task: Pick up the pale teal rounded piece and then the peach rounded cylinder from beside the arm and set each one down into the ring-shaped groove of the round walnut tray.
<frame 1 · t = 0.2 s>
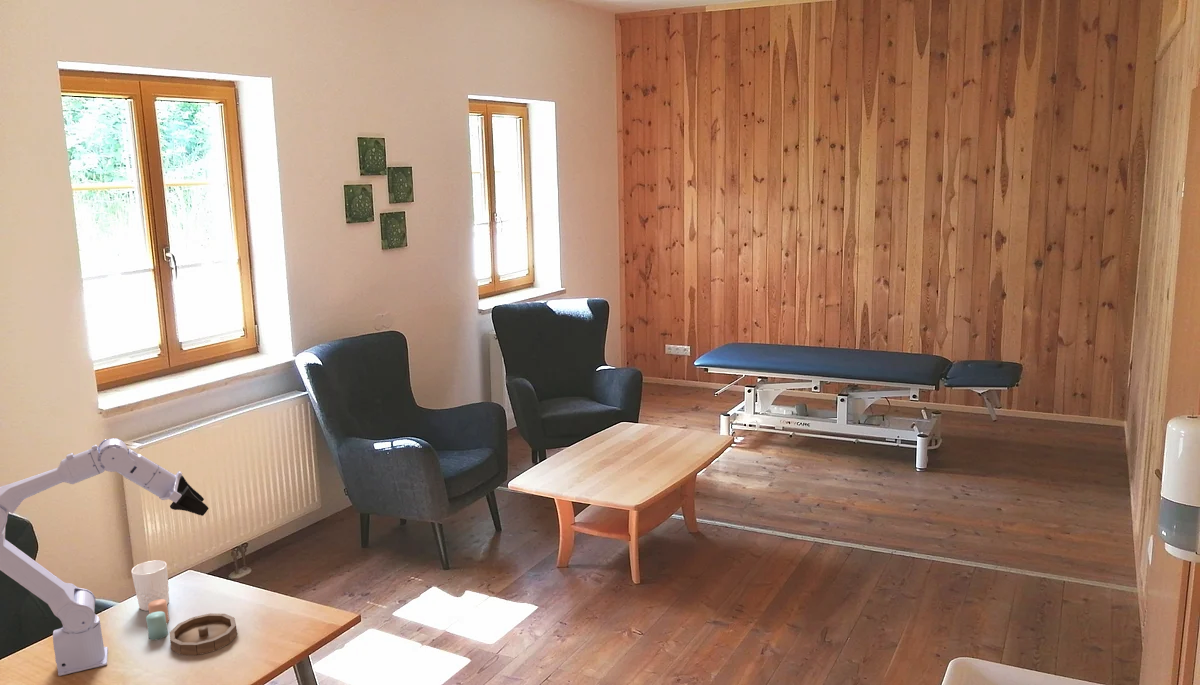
hand: (203, 507, 218), 31 cm above the table, tool tilted 45°, fingers open, 7 cm apart
white cup: (154, 605, 238), on the table
peach rounded cylinder: (160, 622, 229), on the table
tray: (204, 638, 221), on the table
pale teal rounded piece: (158, 635, 223), on the table
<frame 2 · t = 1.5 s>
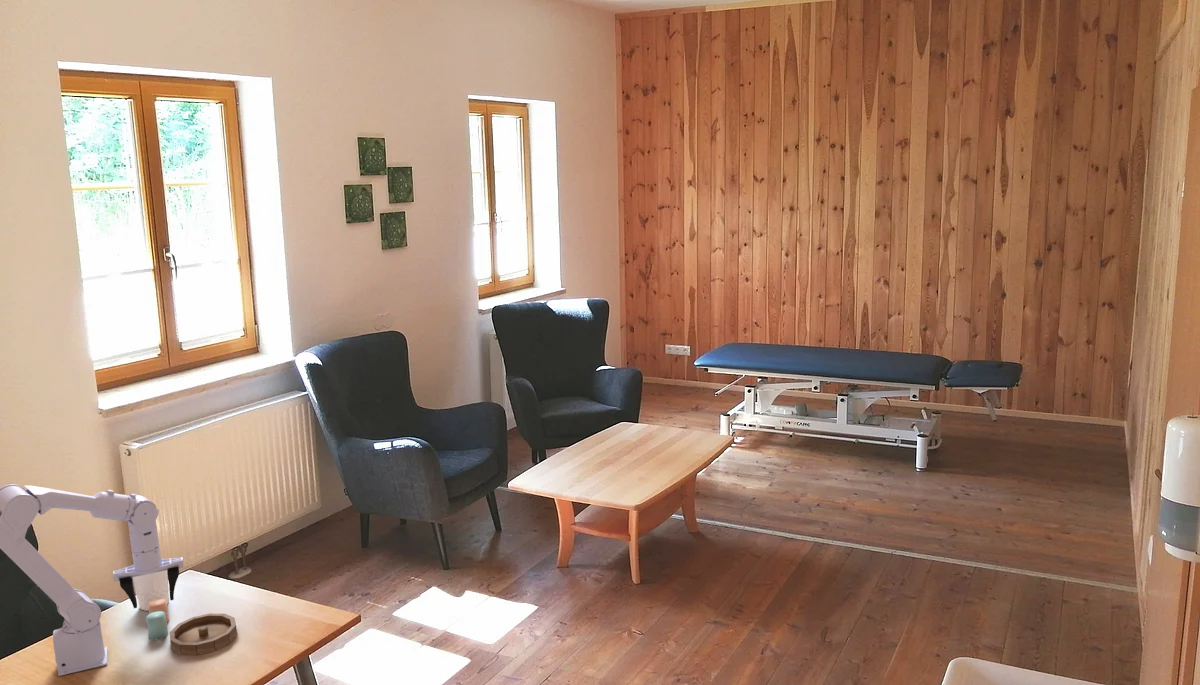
hand: (153, 602, 221), 8 cm above the table, tool pointing down, fingers open, 7 cm apart
nothing on the table moved.
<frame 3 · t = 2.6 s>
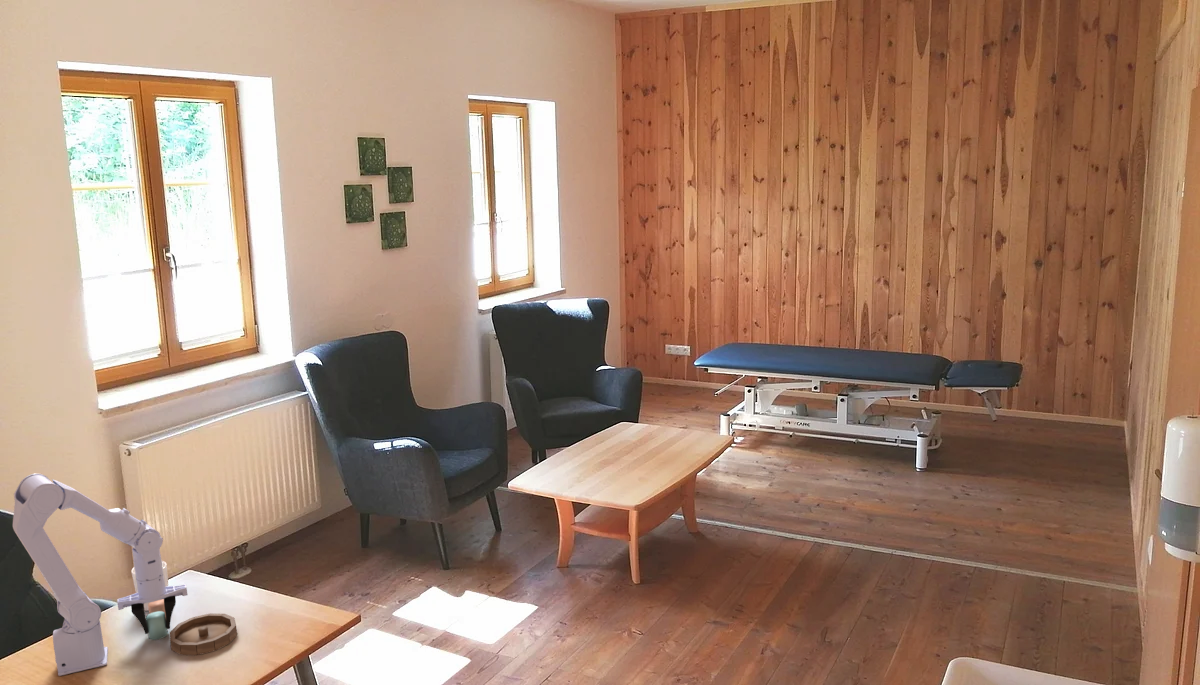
hand: (157, 629, 223), 1 cm above the table, tool pointing down, fingers closed on pale teal rounded piece, 4 cm apart
pale teal rounded piece: (158, 635, 223), on the table, touching gripper
everything else where it was.
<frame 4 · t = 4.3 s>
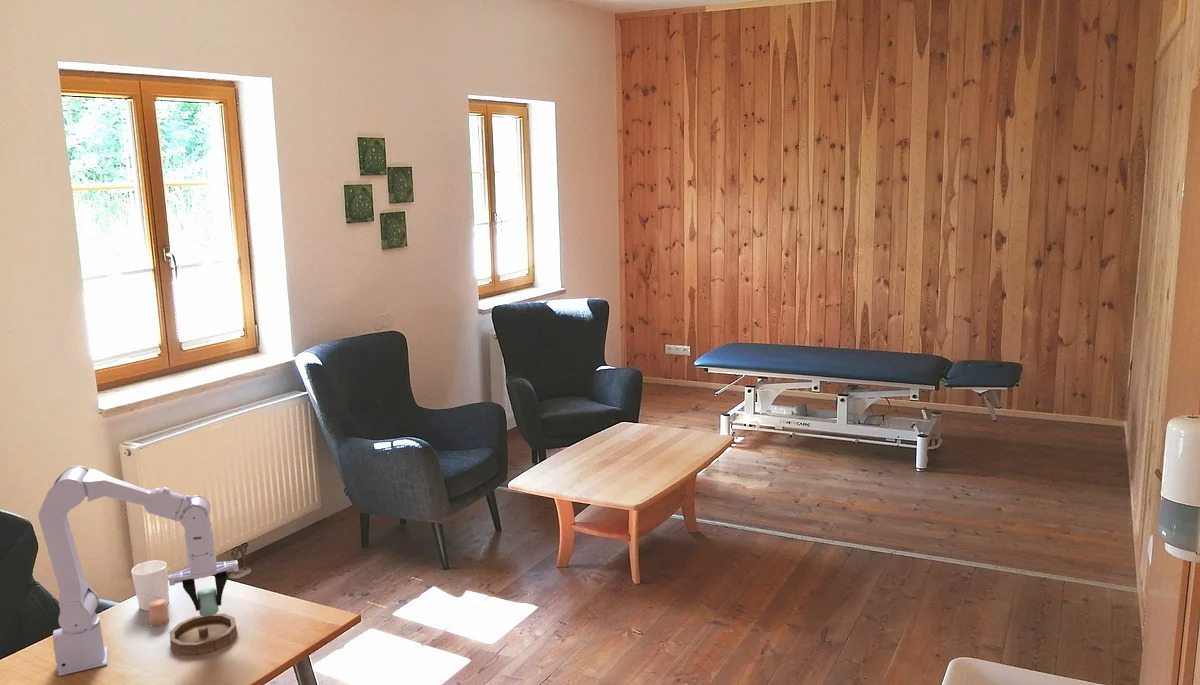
hand: (208, 606, 218), 9 cm above the table, tool pointing down, fingers closed on pale teal rounded piece, 4 cm apart
pale teal rounded piece: (209, 611, 219), point 7 cm above the table, touching gripper
everything else where it was.
when the fingers open (3 cm above the table, at t = 5.9 s): pale teal rounded piece stays where it is, resting on tray.
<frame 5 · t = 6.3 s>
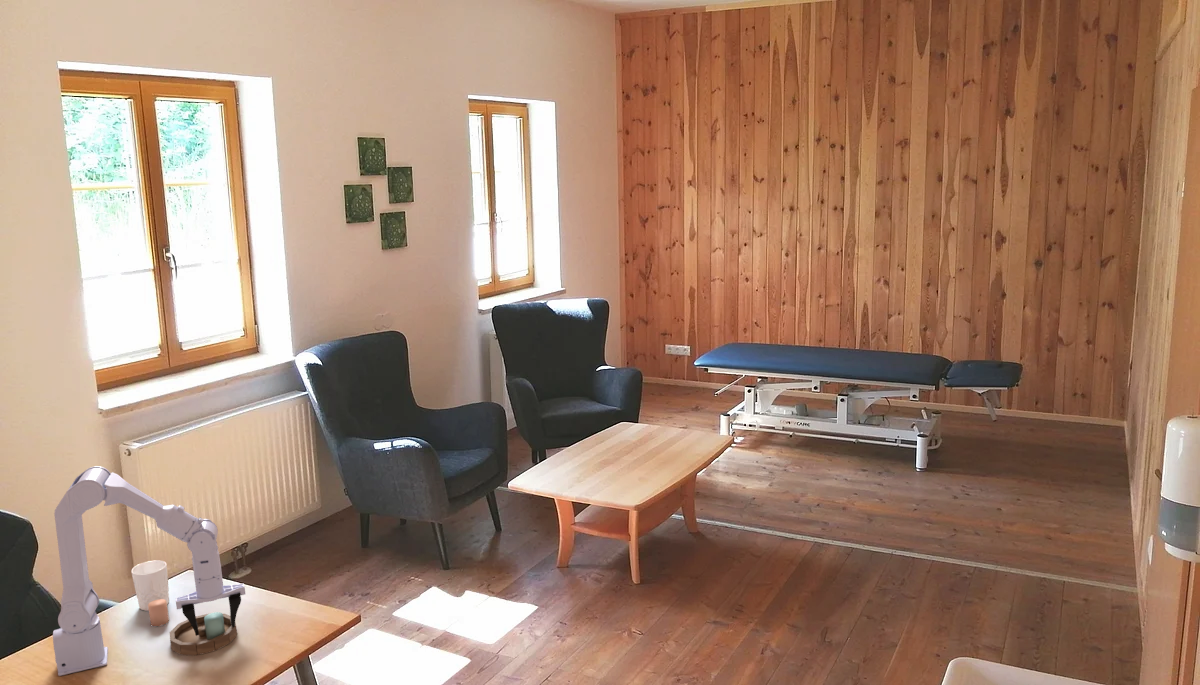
hand: (215, 629, 219), 3 cm above the table, tool pointing down, fingers open, 7 cm apart
pale teal rounded piece: (216, 636, 220), point 1 cm above the table, touching tray
everything else where it was.
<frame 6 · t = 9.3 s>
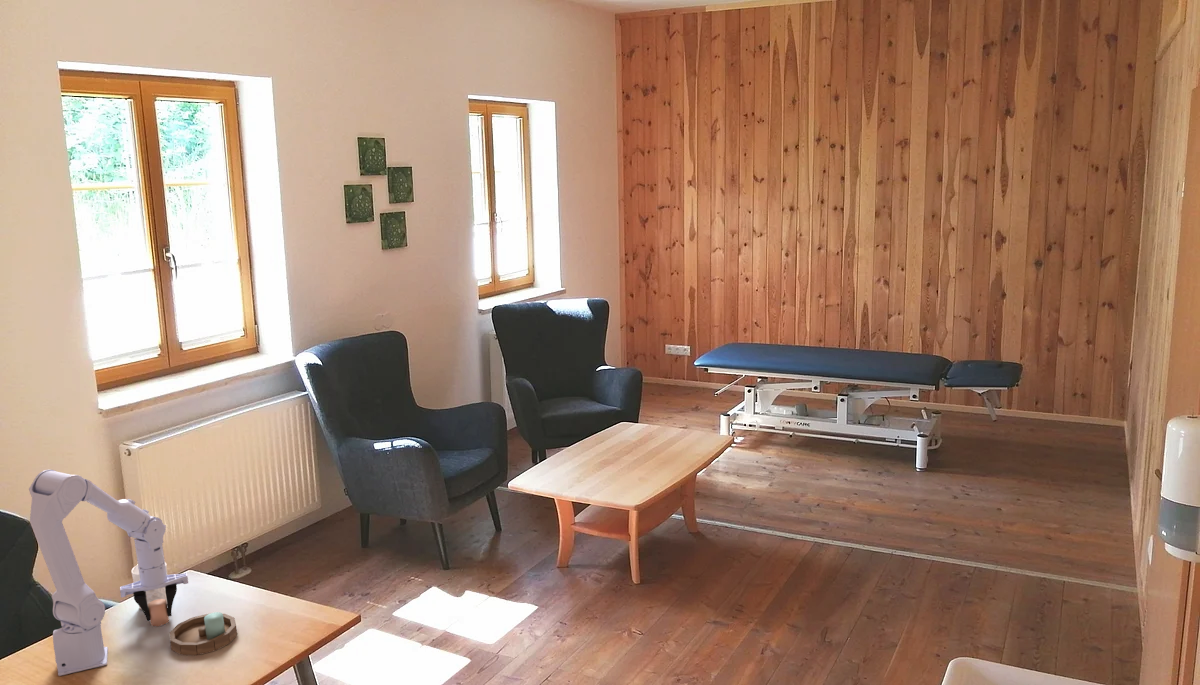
hand: (159, 616, 229), 1 cm above the table, tool pointing down, fingers closed on peach rounded cylinder, 4 cm apart
peach rounded cylinder: (160, 622, 229), on the table, touching gripper
everything else where it was.
when the fingers open (3 cm above the table, at t = 12.4 s): peach rounded cylinder stays where it is, resting on tray.
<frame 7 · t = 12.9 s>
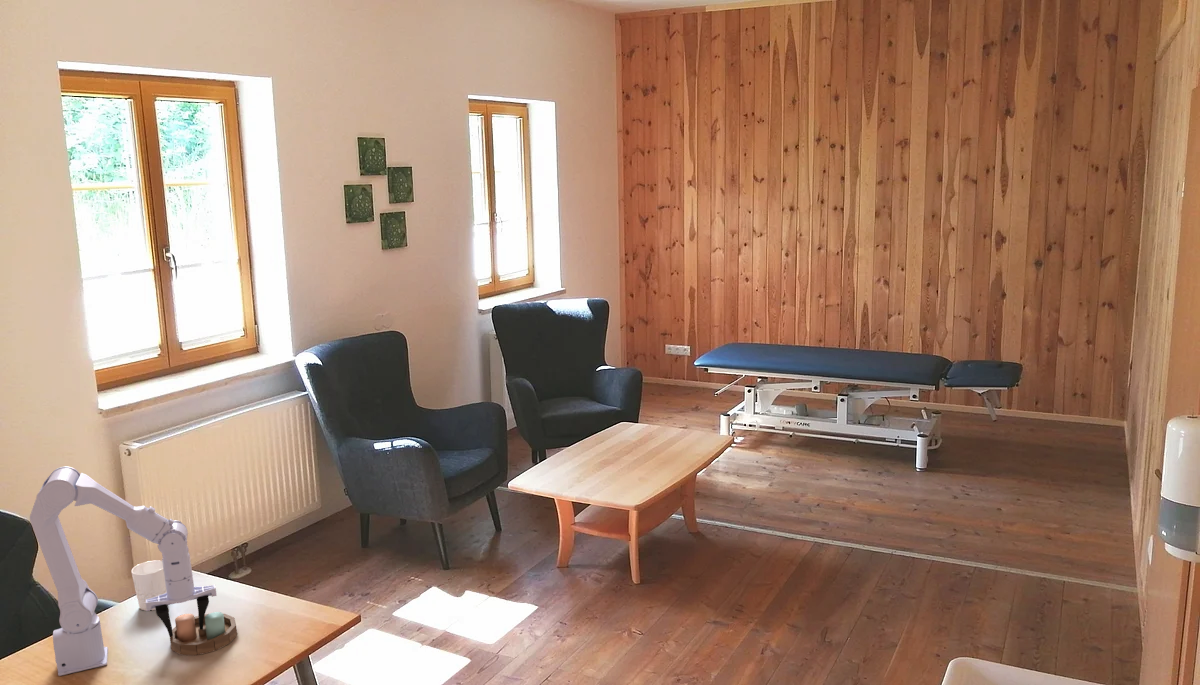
hand: (186, 630, 219), 3 cm above the table, tool pointing down, fingers open, 6 cm apart
peach rounded cylinder: (187, 637, 220), point 1 cm above the table, touching tray
pale teal rounded piece: (216, 636, 220), point 1 cm above the table, touching gripper, tray
everything else where it was.
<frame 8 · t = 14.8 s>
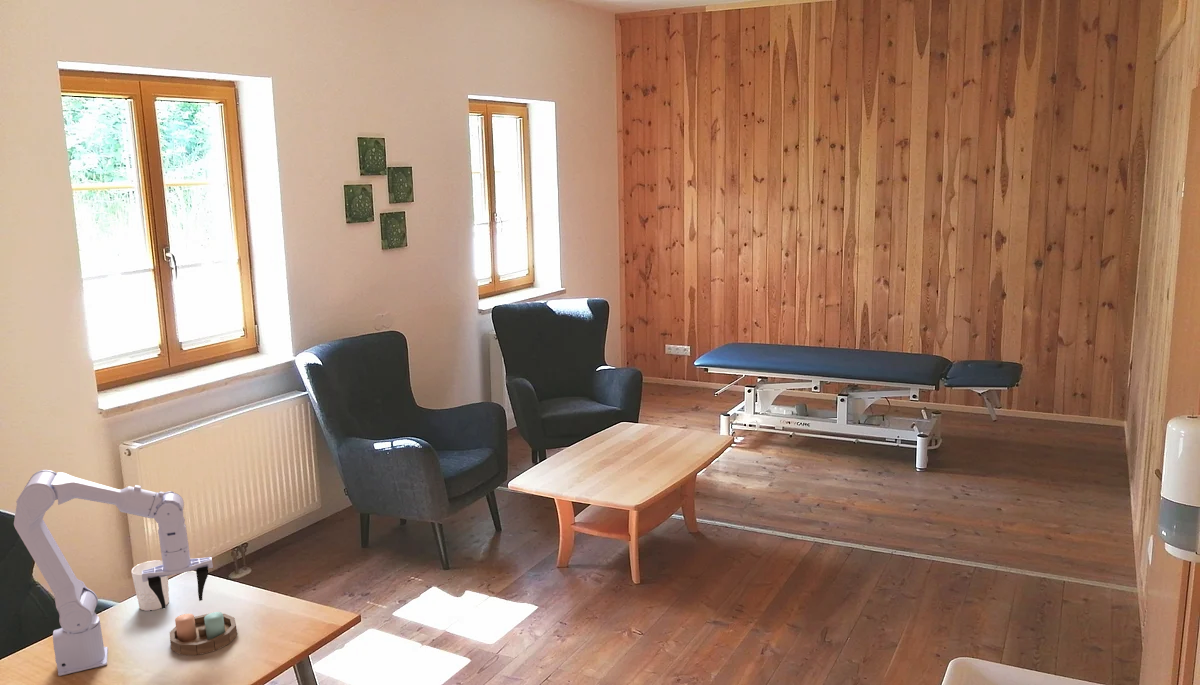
hand: (182, 602, 217), 10 cm above the table, tool pointing down, fingers open, 7 cm apart
pale teal rounded piece: (216, 636, 220), point 1 cm above the table, touching tray
everything else where it was.
at the end: pale teal rounded piece inside the target area on the tray (3.4 cm from its centre), point 1.0 cm above the tray's base; peach rounded cylinder inside the target area on the tray (3.5 cm from its centre), point 1.0 cm above the tray's base; pale teal rounded piece tilted 1° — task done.
